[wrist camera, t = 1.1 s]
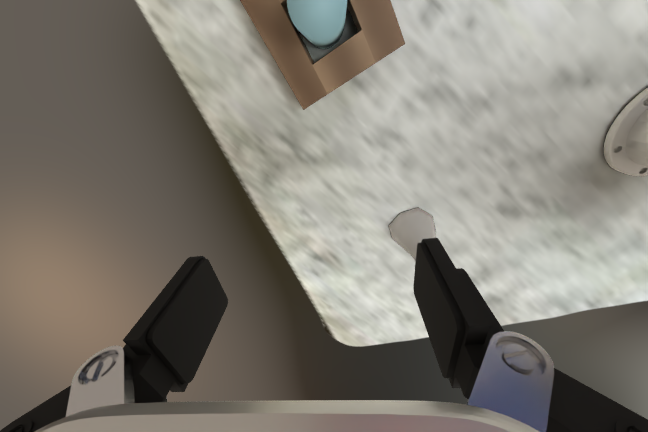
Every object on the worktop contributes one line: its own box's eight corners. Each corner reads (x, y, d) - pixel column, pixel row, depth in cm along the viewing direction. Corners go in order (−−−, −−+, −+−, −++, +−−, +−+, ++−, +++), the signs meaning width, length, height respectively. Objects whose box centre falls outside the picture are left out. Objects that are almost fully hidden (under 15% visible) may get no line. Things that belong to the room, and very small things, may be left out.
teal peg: (331, -15, 25) (327, -59, 16) (351, 32, 27) (357, 14, 18) (295, 14, 26) (274, -13, 18) (317, 57, 28) (307, 51, 20)
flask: (380, 224, 40) (391, 267, 31) (420, 199, 37) (444, 238, 28) (404, 251, 42) (420, 297, 34) (442, 229, 39) (471, 273, 31)
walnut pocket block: (347, -91, 22) (348, -120, 19) (396, 47, 27) (405, 43, 24) (247, -1, 26) (233, -12, 22) (307, 105, 31) (303, 109, 27)
